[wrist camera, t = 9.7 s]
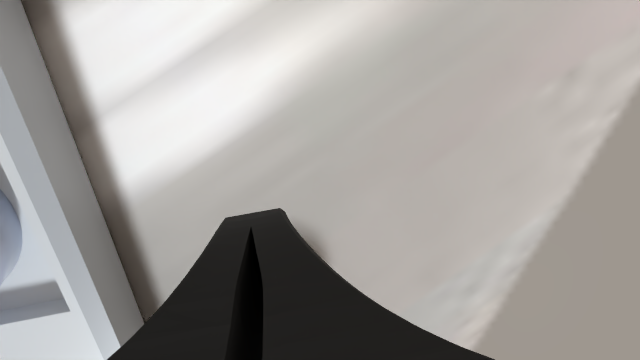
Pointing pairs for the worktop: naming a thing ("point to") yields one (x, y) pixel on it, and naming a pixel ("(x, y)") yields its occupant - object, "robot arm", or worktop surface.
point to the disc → (8, 237)
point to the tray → (53, 221)
